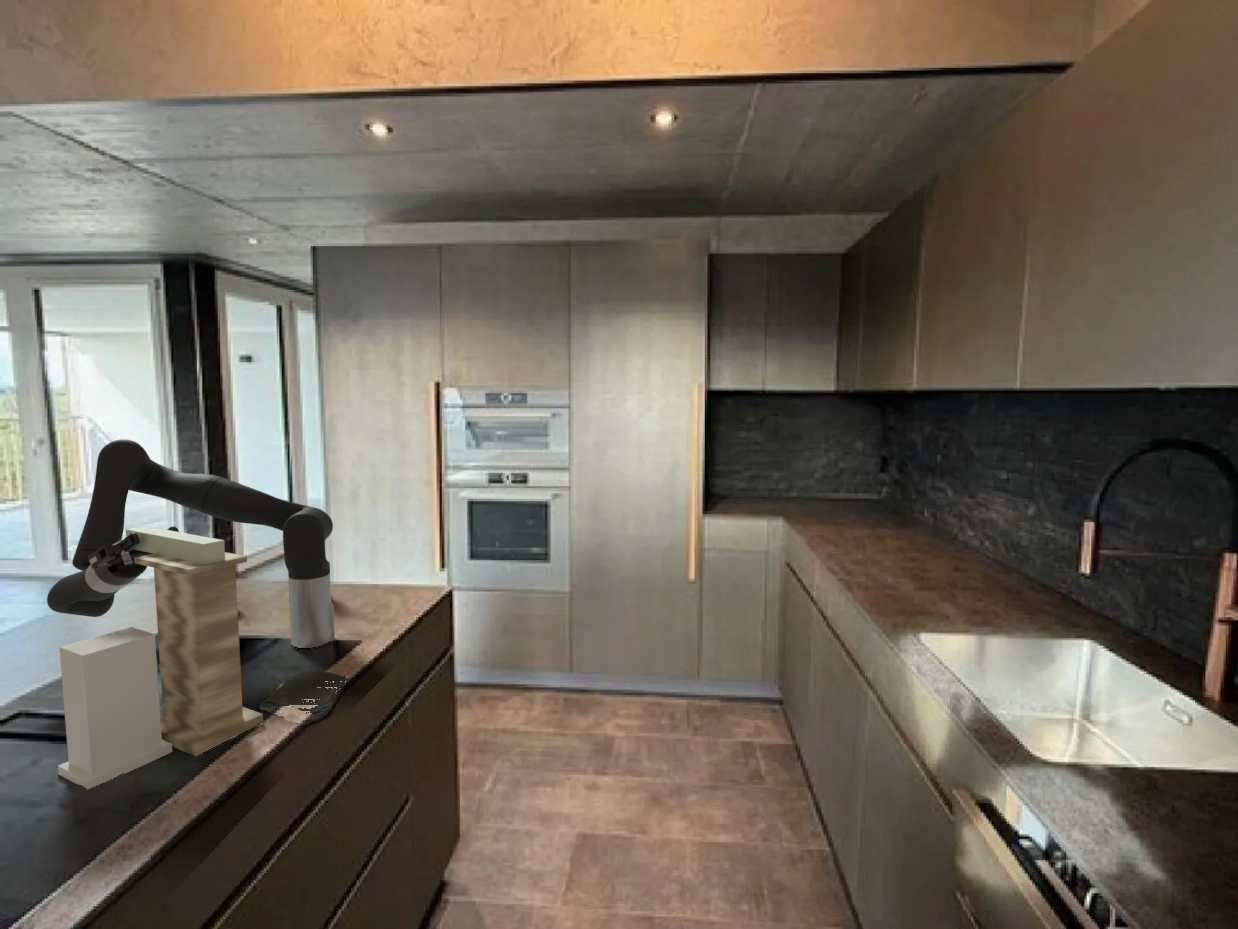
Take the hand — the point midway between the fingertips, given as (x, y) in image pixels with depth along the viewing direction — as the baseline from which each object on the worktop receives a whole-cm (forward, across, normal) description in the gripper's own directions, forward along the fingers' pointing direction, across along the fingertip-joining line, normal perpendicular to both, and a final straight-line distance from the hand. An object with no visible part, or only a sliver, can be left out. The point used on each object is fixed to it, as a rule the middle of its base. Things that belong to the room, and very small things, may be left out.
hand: (156, 534), depth 116 cm
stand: (-9, 0, +36) cm, 37 cm away
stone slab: (-3, +17, +40) cm, 43 cm away
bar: (+3, 0, +5) cm, 6 cm away
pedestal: (-9, -13, +35) cm, 39 cm away
